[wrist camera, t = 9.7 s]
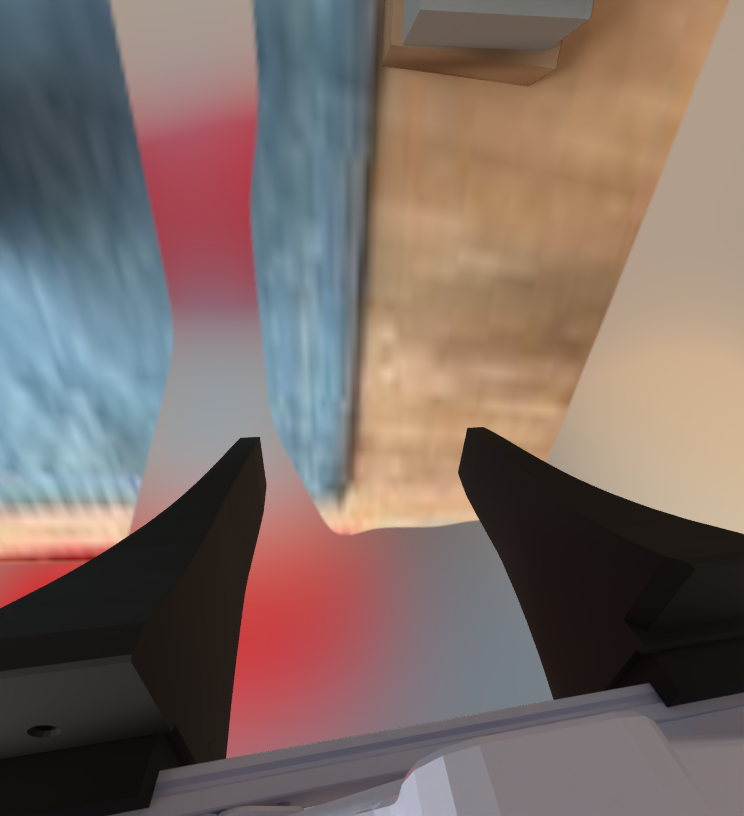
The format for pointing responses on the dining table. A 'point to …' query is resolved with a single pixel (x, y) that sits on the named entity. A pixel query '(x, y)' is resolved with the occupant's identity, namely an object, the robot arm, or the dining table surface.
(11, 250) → the dining table surface
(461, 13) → the top block
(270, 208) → the dining table surface
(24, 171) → the dining table surface
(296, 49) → the dining table surface
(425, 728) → the robot arm
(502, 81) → the base block
